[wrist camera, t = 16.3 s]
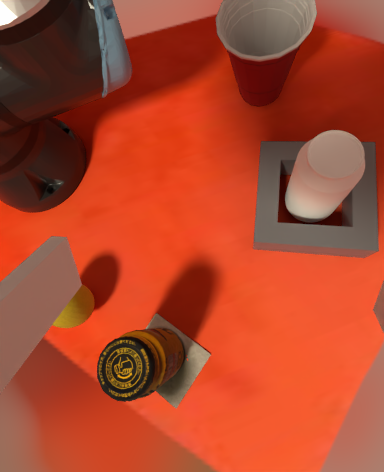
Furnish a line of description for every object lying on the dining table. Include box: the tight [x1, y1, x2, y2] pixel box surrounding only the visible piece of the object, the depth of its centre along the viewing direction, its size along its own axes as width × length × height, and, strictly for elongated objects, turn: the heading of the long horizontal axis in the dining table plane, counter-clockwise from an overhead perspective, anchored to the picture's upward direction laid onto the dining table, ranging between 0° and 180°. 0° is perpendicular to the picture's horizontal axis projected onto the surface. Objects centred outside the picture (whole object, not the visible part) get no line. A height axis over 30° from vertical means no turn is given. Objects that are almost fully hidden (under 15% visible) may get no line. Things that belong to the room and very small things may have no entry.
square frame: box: [253, 141, 379, 258], centre depth 36 cm, size 13×13×4 cm
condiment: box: [97, 313, 211, 408], centre depth 31 cm, size 7×8×12 cm
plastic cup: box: [216, 0, 317, 106], centre depth 38 cm, size 11×11×12 cm
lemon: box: [52, 284, 95, 328], centre depth 36 cm, size 6×6×8 cm
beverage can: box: [285, 130, 365, 223], centre depth 33 cm, size 6×6×12 cm
